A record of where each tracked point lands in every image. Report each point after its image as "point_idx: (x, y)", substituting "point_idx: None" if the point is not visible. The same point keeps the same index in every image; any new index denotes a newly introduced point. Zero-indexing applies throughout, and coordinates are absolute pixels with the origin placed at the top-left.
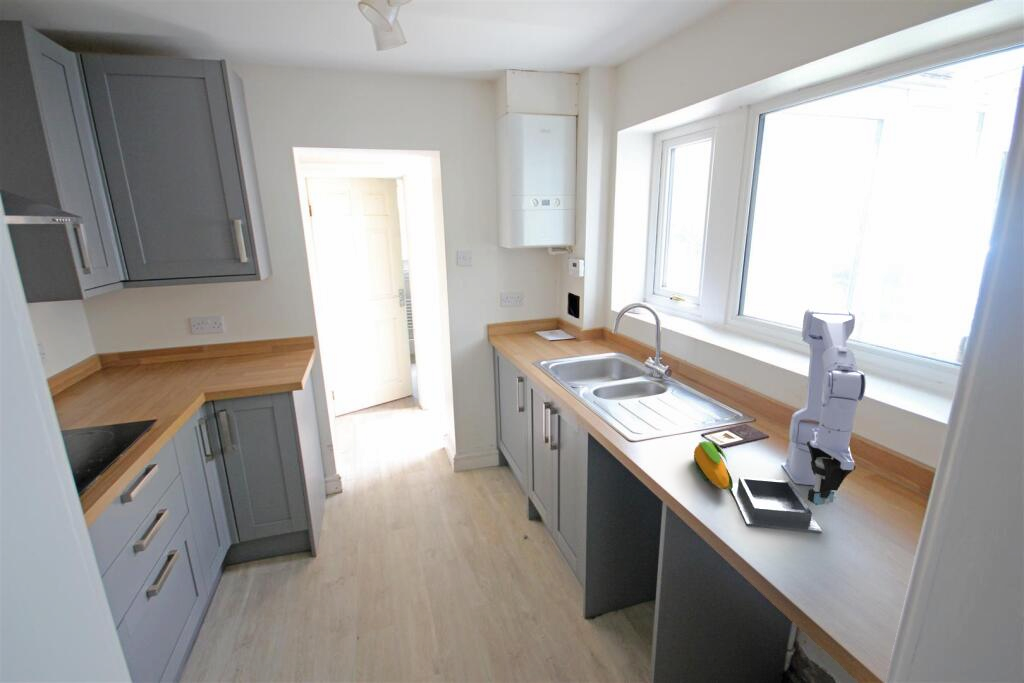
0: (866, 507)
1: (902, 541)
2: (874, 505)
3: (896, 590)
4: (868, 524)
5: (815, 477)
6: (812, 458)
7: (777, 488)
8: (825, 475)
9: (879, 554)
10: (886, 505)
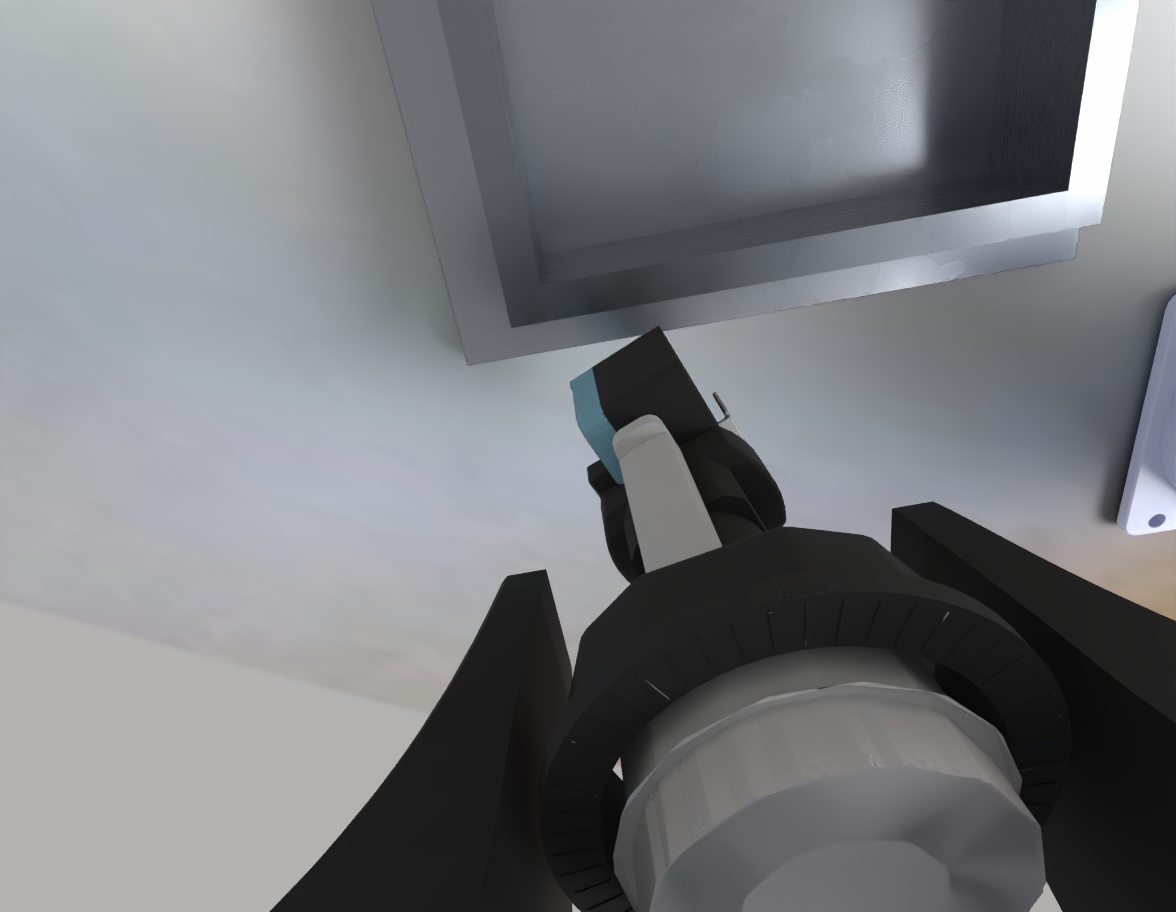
0: None
1: None
2: None
3: (81, 621)
4: None
5: (702, 516)
6: (1128, 644)
7: (1026, 79)
8: (496, 715)
9: (390, 622)
10: None
